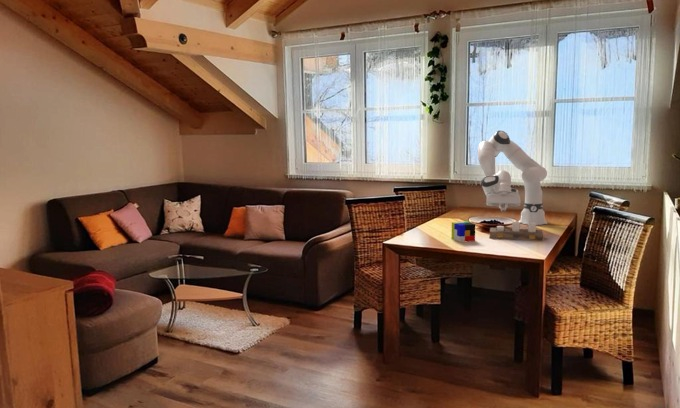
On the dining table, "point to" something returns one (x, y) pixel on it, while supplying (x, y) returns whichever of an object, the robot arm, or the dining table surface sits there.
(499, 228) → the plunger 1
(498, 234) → the console
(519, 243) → the dining table surface
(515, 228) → the plunger middle
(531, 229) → the plunger
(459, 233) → the puzzle toy
